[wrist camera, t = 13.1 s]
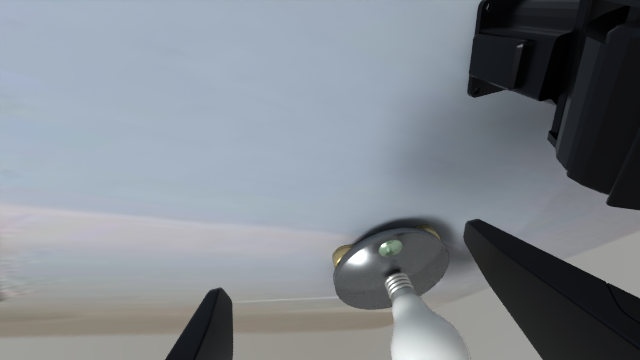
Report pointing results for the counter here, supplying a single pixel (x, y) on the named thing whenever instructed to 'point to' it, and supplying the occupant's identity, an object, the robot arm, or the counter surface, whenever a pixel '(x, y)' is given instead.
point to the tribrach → (388, 265)
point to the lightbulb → (420, 326)
